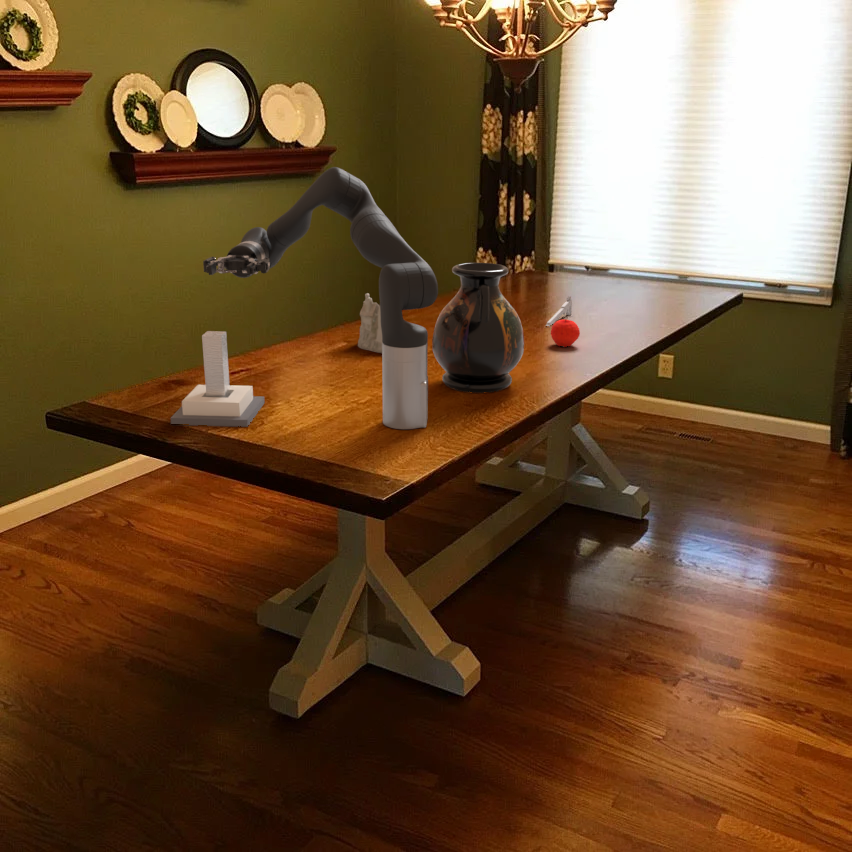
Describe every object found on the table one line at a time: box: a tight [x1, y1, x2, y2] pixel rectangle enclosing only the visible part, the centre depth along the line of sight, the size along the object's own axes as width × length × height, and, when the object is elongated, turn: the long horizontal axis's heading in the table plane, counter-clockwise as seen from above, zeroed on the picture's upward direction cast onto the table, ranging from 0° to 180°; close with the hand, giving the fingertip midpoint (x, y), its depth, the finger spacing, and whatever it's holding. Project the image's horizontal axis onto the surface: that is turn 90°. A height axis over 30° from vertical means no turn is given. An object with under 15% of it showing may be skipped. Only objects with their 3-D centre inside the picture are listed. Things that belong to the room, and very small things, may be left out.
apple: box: [550, 319, 581, 348], centre depth 256 cm, size 8×8×7 cm
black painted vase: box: [431, 262, 525, 394], centre depth 217 cm, size 22×22×28 cm
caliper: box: [545, 295, 573, 327], centre depth 286 cm, size 20×1×6 cm, turn 152°
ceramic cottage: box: [357, 292, 382, 354], centre depth 255 cm, size 16×16×15 cm
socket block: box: [170, 384, 265, 428], centre depth 199 cm, size 16×16×4 cm
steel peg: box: [201, 330, 230, 398], centre depth 197 cm, size 4×4×16 cm
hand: (229, 270), depth 205 cm, fingers open, 8 cm apart
